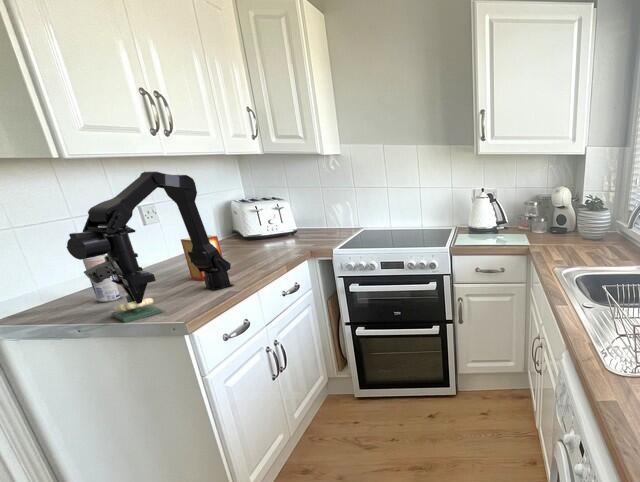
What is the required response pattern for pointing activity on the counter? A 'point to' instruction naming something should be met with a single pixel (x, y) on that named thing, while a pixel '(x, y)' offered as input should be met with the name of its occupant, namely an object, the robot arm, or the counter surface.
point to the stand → (136, 312)
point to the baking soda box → (192, 268)
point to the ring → (132, 305)
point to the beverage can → (106, 288)
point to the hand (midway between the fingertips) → (137, 302)
